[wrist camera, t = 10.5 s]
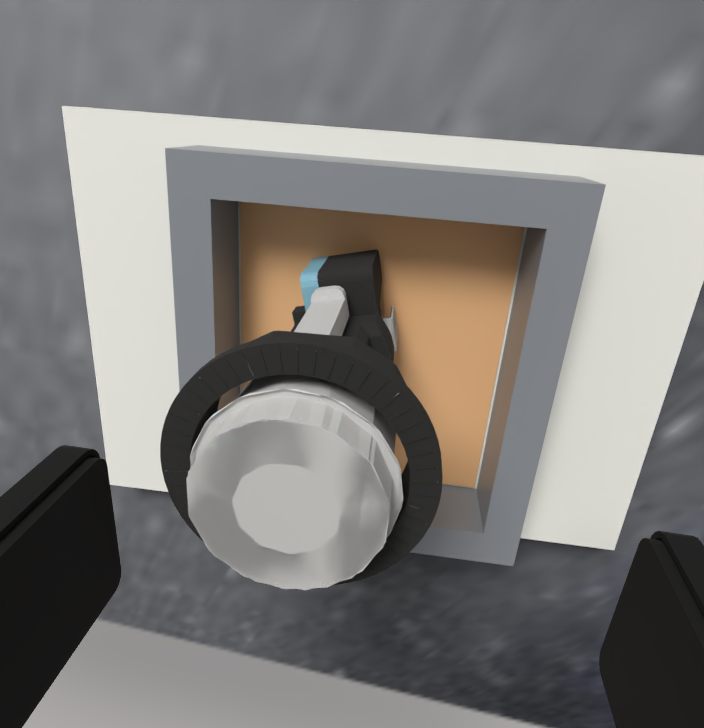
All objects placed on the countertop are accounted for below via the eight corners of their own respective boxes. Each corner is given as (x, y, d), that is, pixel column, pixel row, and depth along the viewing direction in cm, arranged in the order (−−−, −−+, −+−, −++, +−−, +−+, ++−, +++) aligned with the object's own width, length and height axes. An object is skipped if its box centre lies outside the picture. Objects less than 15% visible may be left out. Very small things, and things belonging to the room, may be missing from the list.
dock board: (717, 156, 17) (799, 165, 13) (602, 524, 23) (637, 601, 19) (88, 107, 18) (6, 103, 15) (127, 463, 24) (74, 524, 20)
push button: (443, 419, 20) (463, 675, 11) (297, 432, 21) (199, 676, 11) (423, 230, 17) (427, 349, 8) (258, 253, 18) (93, 383, 9)
